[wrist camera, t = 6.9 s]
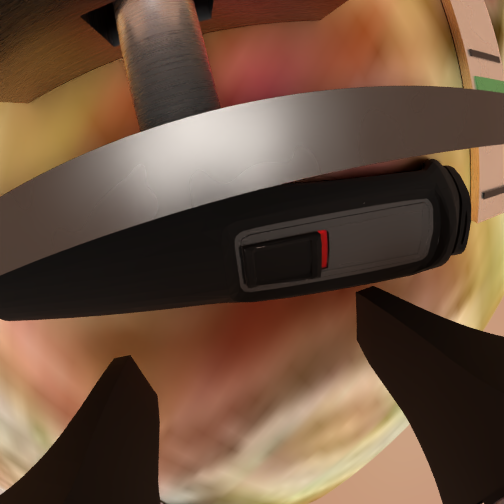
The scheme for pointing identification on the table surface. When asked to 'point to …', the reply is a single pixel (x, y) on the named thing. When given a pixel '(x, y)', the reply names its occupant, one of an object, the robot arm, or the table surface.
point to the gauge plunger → (223, 139)
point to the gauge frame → (213, 19)
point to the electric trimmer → (254, 248)
